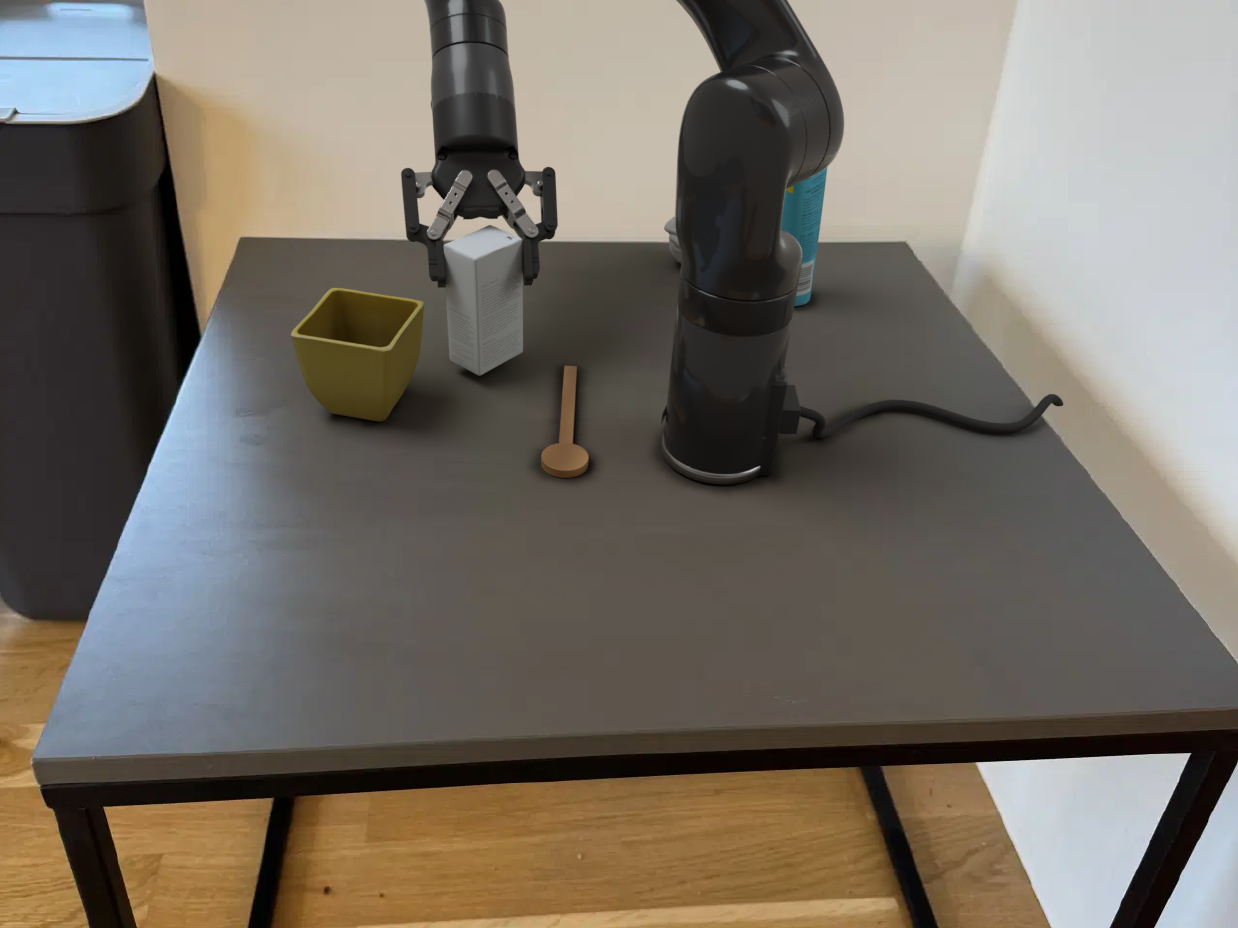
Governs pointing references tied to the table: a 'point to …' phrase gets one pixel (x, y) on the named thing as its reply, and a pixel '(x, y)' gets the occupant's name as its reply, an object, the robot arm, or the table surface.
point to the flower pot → (359, 351)
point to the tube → (805, 226)
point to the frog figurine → (673, 240)
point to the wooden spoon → (566, 436)
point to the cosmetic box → (484, 298)
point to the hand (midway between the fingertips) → (485, 284)
